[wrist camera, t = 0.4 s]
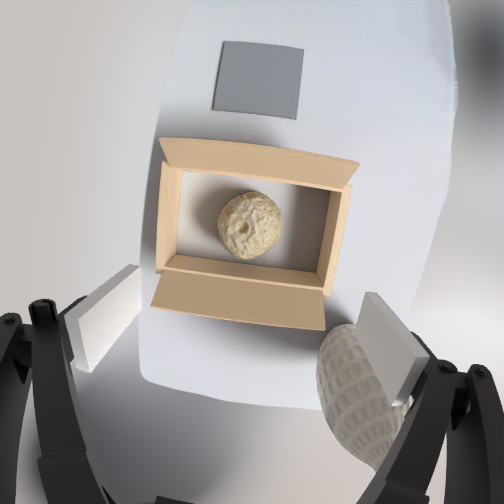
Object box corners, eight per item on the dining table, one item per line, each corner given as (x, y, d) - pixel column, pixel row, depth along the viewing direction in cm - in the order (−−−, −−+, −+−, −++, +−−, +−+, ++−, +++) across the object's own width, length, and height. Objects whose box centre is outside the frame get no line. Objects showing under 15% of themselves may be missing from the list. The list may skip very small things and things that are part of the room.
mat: (225, 42, 34) (225, 41, 33) (303, 50, 34) (304, 49, 34) (213, 110, 37) (213, 109, 37) (295, 119, 37) (296, 119, 37)
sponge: (222, 215, 46) (199, 261, 39) (236, 169, 38) (211, 215, 32) (275, 236, 46) (261, 286, 40) (298, 194, 39) (286, 245, 32)
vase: (299, 362, 48) (319, 500, 21) (319, 301, 45) (372, 442, 17) (360, 367, 48) (408, 487, 21) (385, 311, 45) (467, 425, 18)
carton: (177, 145, 39) (149, 136, 28) (342, 166, 39) (369, 164, 28) (168, 275, 44) (142, 306, 33) (318, 295, 44) (333, 332, 33)
